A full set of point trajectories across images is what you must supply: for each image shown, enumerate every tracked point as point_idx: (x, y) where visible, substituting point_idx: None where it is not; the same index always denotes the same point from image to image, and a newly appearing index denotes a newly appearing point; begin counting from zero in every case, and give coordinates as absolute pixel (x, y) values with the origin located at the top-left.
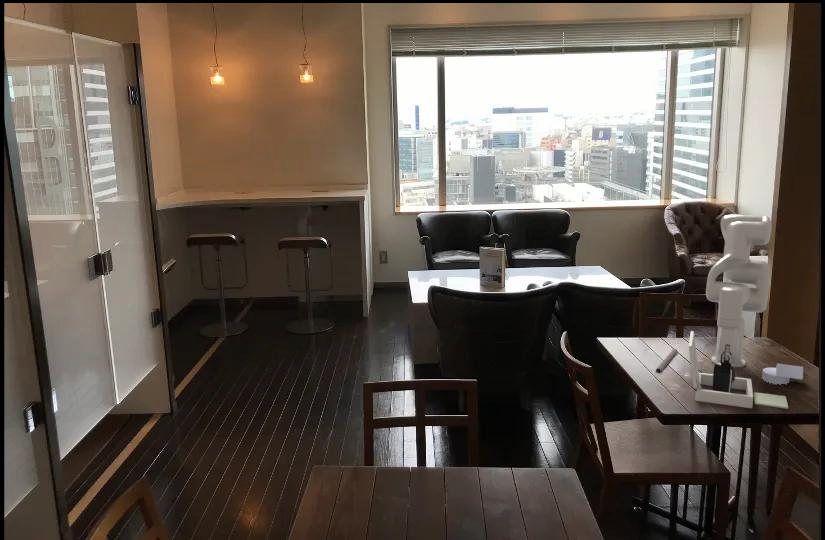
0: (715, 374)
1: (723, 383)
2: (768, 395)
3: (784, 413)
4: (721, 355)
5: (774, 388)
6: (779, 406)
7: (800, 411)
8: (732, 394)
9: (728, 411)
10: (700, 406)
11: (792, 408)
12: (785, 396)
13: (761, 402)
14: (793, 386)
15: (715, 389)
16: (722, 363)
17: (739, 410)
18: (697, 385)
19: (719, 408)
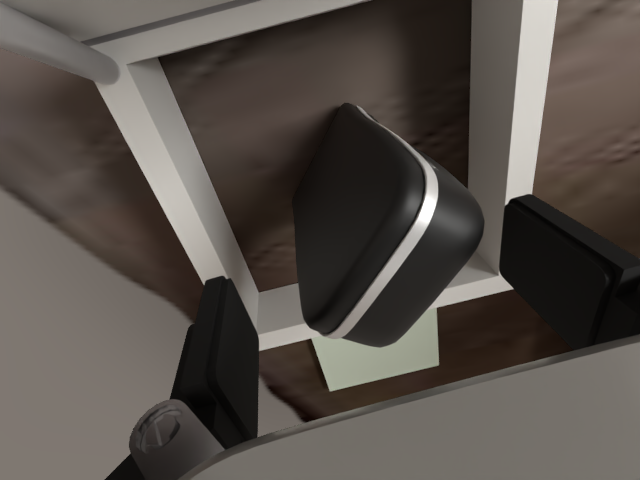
0: (363, 158)
1: (311, 213)
2: (420, 327)
3: (278, 387)
4: (595, 264)
5: (528, 315)
6: (323, 372)
7: (329, 408)
8: (204, 279)
9: (122, 248)
10: (45, 100)
11: (342, 391)
12: (436, 365)
13: None
14: (567, 351)
15: (333, 133)
16: (194, 381)
17: (180, 281)
18: (161, 21)
19: (122, 204)
